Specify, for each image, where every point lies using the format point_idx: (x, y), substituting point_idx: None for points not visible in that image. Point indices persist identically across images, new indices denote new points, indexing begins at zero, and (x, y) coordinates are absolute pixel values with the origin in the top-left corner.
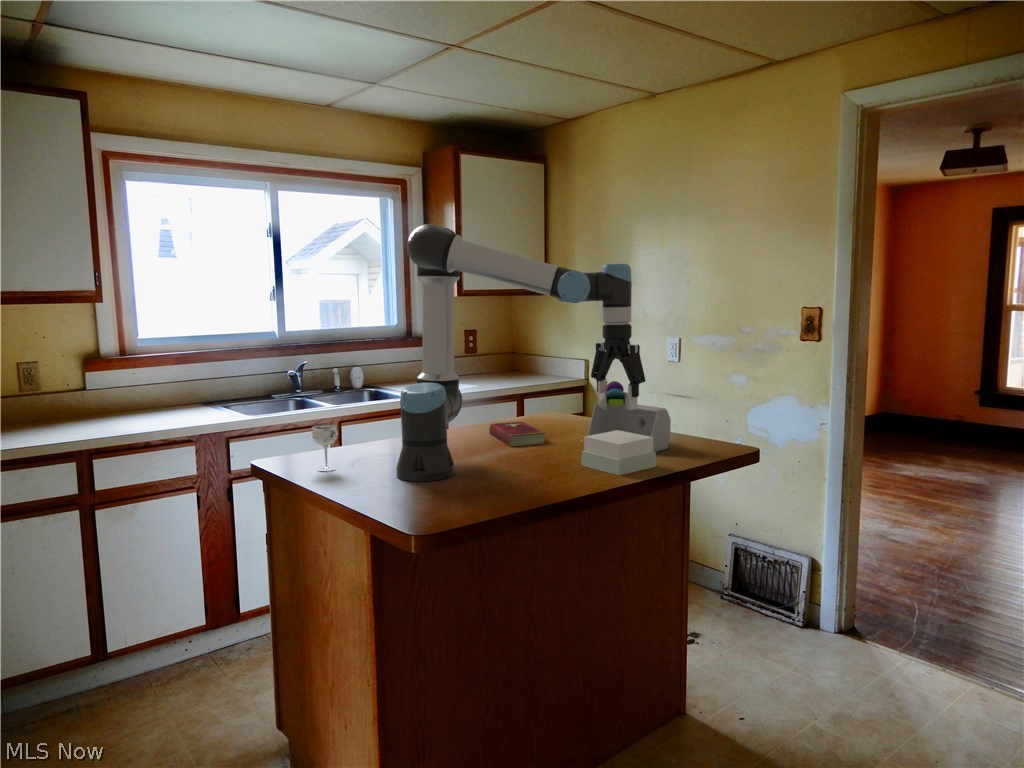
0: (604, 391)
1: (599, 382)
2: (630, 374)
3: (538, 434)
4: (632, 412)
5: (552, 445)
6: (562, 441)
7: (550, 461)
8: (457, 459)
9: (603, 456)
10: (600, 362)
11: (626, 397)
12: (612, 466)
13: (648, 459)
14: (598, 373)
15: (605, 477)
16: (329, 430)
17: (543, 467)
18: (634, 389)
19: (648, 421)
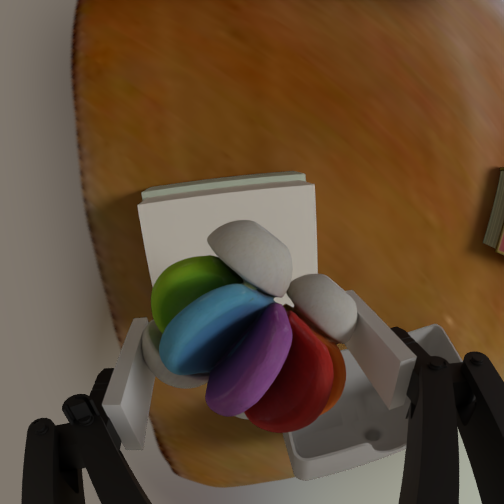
0: (365, 354)
1: (402, 356)
2: (86, 467)
3: (499, 236)
4: (404, 437)
5: (464, 245)
6: (468, 283)
7: (373, 136)
8: (469, 23)
9: (207, 183)
10: (485, 461)
11: (151, 354)
12: (172, 185)
13: None
14: (445, 392)
15: (156, 146)
16: None
17: (335, 82)
18: (94, 398)
19: (357, 442)
